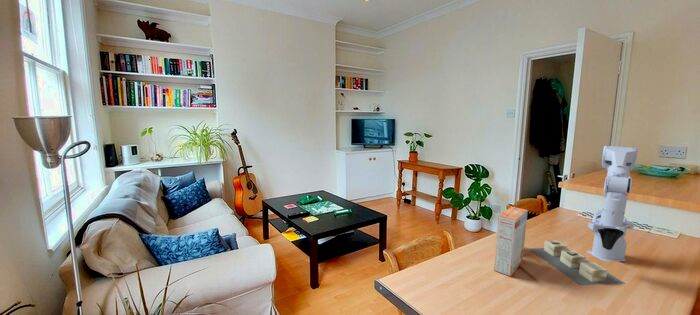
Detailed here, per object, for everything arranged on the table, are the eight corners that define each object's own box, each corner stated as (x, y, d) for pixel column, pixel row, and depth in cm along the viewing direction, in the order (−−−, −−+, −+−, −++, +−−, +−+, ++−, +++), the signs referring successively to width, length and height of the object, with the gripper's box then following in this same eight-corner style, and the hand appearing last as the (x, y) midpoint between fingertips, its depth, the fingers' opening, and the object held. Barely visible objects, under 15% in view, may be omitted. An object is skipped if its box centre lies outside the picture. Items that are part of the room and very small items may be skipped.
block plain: (592, 272, 102) (594, 262, 101) (605, 281, 97) (607, 270, 96) (578, 273, 101) (580, 262, 101) (591, 281, 96) (593, 270, 96)
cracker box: (505, 257, 113) (511, 205, 110) (523, 262, 109) (529, 209, 106) (492, 270, 104) (497, 214, 100) (510, 277, 99) (517, 219, 96)
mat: (565, 248, 120) (565, 247, 120) (625, 285, 96) (625, 283, 95) (528, 249, 119) (528, 248, 119) (579, 286, 95) (579, 284, 94)
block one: (555, 249, 118) (556, 239, 118) (565, 255, 113) (566, 245, 113) (543, 249, 118) (544, 240, 117) (552, 256, 113) (554, 246, 112)
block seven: (572, 260, 110) (574, 250, 109) (583, 267, 105) (585, 256, 104) (559, 260, 110) (561, 250, 109) (570, 267, 105) (572, 257, 104)
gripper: (603, 215, 94) (597, 254, 96) (645, 214, 95) (638, 253, 97) (585, 208, 101) (579, 244, 103) (624, 207, 102) (618, 243, 104)
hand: (607, 248), depth 101 cm, fingers closed
